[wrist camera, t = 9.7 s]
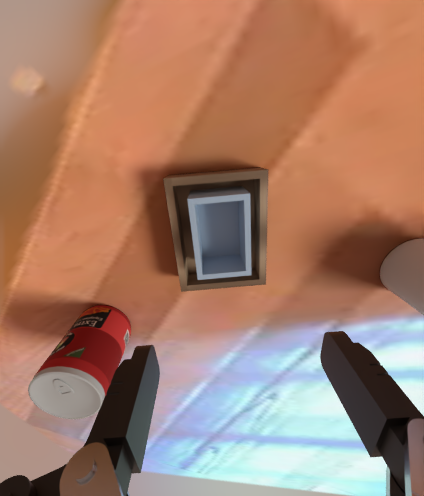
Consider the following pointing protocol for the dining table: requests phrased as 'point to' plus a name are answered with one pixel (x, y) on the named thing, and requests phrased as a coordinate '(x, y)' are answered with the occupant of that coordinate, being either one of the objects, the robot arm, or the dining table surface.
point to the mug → (406, 273)
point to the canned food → (82, 364)
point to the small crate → (221, 231)
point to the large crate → (181, 226)
